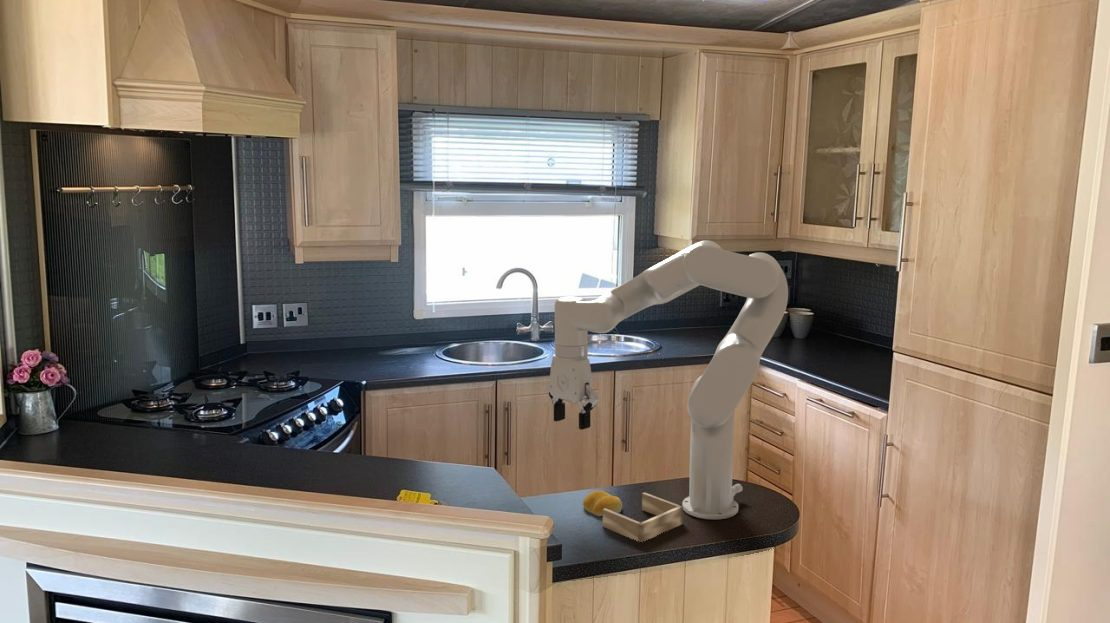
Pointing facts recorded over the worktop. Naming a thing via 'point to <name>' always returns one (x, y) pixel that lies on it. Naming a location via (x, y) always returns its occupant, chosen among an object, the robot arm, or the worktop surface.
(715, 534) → the worktop surface
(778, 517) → the worktop surface
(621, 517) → the holder
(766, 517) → the worktop surface
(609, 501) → the bread roll
